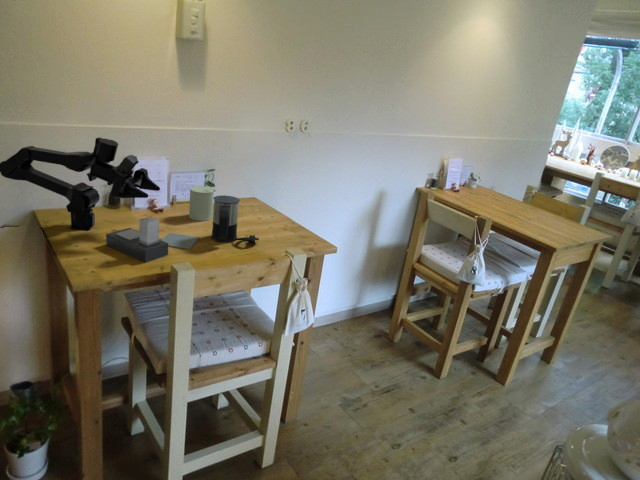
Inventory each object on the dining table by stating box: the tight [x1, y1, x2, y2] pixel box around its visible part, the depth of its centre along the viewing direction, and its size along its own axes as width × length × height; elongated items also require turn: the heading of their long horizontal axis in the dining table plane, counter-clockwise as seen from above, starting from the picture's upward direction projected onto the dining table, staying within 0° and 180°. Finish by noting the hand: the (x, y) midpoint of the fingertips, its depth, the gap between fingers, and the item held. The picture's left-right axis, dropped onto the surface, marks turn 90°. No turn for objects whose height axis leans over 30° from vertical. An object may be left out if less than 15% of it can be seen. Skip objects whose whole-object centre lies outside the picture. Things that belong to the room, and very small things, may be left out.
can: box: [188, 185, 215, 222], centre depth 191 cm, size 9×9×12 cm
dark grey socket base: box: [105, 227, 169, 264], centre depth 155 cm, size 18×9×5 cm, turn 59°
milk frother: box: [210, 194, 260, 243], centre depth 172 cm, size 14×16×15 cm
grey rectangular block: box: [138, 216, 160, 248], centre depth 151 cm, size 4×4×10 cm
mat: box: [160, 232, 200, 250], centre depth 167 cm, size 11×11×1 cm
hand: (153, 192), depth 161 cm, fingers open, 9 cm apart
